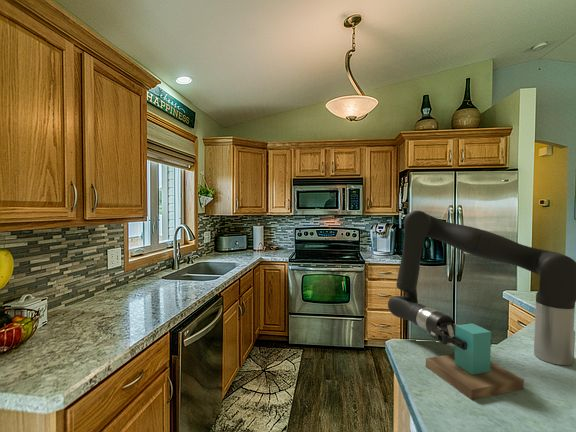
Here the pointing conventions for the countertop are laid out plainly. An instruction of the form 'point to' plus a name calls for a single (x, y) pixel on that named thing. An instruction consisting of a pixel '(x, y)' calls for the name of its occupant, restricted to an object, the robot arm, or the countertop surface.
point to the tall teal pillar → (473, 348)
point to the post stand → (474, 378)
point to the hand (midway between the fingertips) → (478, 344)
